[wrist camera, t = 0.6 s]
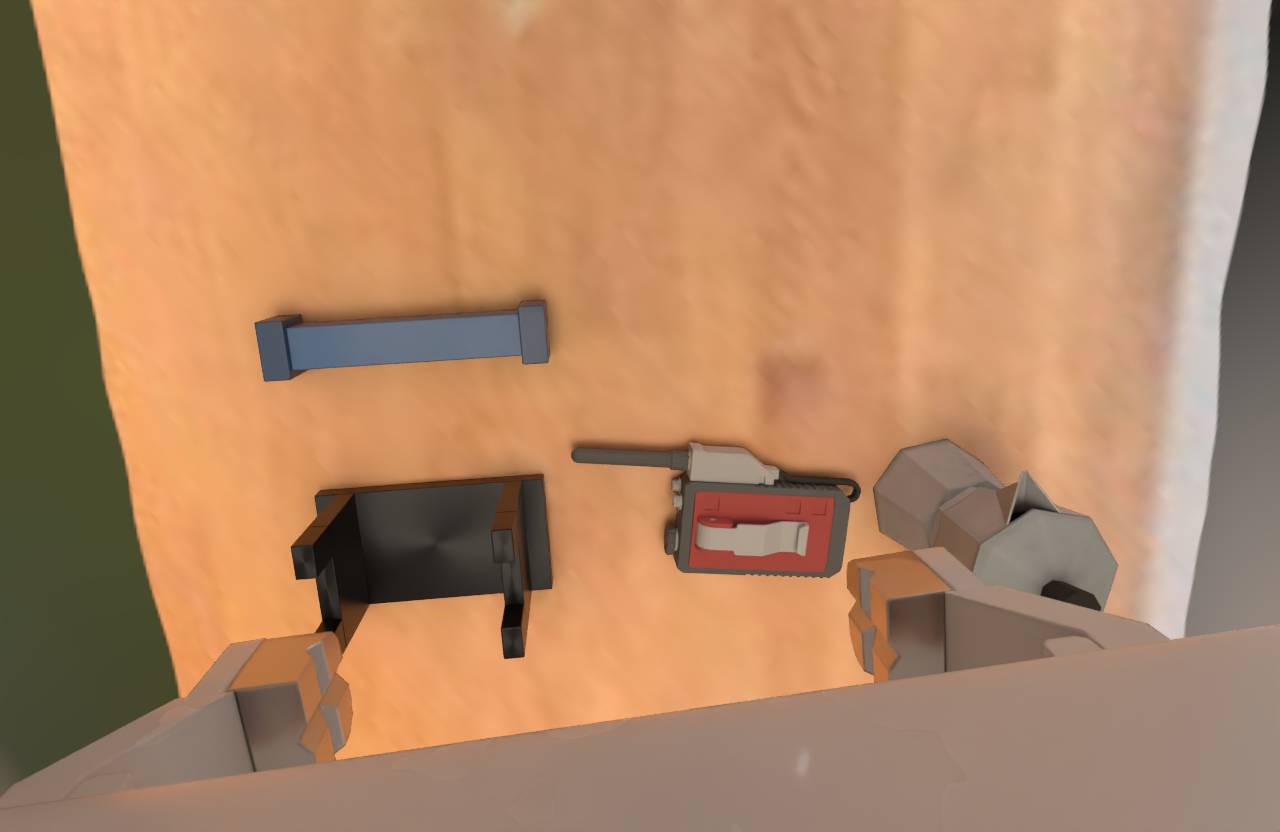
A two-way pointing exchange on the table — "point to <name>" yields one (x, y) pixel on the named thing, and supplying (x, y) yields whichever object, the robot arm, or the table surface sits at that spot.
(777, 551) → the walkie-talkie
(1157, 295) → the table surface
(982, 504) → the coffee maker
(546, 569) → the holder
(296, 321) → the handle
